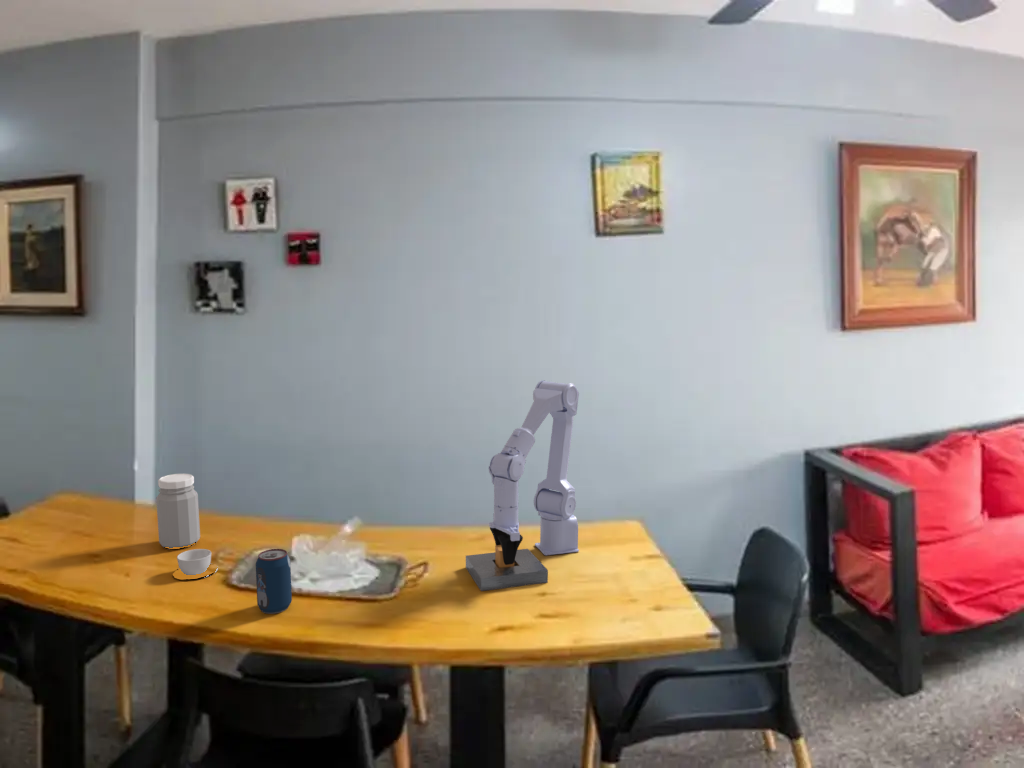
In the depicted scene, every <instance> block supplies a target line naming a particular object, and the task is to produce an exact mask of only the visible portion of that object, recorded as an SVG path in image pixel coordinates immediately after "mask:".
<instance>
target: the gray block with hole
mask: <svg viewBox="0 0 1024 768" xmlns="http://www.w3.org/2000/svg"><path fill="white" fill-rule="evenodd" d="M465 569H466V570H467V572H468V573H469V575H470V576H471V578H472V580H473V581H474V583H475V584H476V586H477V587H478V589H479V590H480V592H484V591H493V590H499V589H501V590H502V589H507V588H509V589H510V588H516V587H524V586H531V585H538V584H545V583H546V584H547V583H549V581H548V580H549V577H548V576H549V574H548V573H549V570H548V568H547V567H546V566H545V565H544V564H543V563H542V562H541V561H540V560H539V559H538V558H537V556H535V554H533V552H531V550H530V549H529V548H521V549H517V553H516V557H515V560H514V566H513V567H504V568H498V567H497V566H496V564H495V552H486V553H477V554H476V553H475V554H469V555H465Z"/></svg>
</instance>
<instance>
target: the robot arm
mask: <svg viewBox="0 0 1024 768" xmlns="http://www.w3.org/2000/svg"><path fill="white" fill-rule="evenodd" d="M579 396H580V393H579V390H578V387H576V385H575V383H573V382H568V383H566V382H558V381H557V382H556V381H550V380H549V381H548V380H543V379H541V380H539V381H538V382H537V384H536V385H535V387H534V390H533V391H532V399H533V402H532V404H531V406H530V409H529V411H528V412H527V415H526V416H525V418H524V421H523V423H522V426H521V427H517V428H514V430H513V431H512V432H511V435H510V436H509V438H508V439H507V441H506V443H505V445H504V446H503V448H502V450H501V451H500V452H498V453H497V454H495V455H493V456H492V457H491V459H490V462H489V465H488V473H489V475H490V477H491V483H492V485H493V514H492V515H493V516H492V517H493V518H492V519H493V520H492V522H489V523H488V527H489V530H490V531H491V533H492V536H493V541H494V542H495V546H496V545H501V547H502V552H503V560H504V564H505V565H509V564H514V560H515V557H516V553H517V550H519V547H520V544H521V543H522V542H523V539H524V537H523V535H522V534H521V532H520V531H519V529H520V523H519V486H520V485H519V479H520V478H522V476H523V474H524V471H525V466H526V461H527V460H526V458H527V457H528V455H529V453H530V451H531V449H532V448H533V446H534V444H535V442H536V439H535V433H536V432H537V431H538V429H539V428H540V427H541V426H542V423H544V421H545V419H546V418H547V417H548V415H549V414H550V416H551V417H552V424H551V425H552V426H551V435H550V446H549V454H548V463H547V469H546V470H547V471H546V477H545V479H543V480H541V481H540V482H538V484H537V489H536V492H535V494H534V497H533V506H534V509H535V510H536V512H537V515H538V516H539V517H540V524H539V525H540V531H539V532H540V534H539V535H540V536H539V538H540V539H539V542H535V543H534V546H535V547H536V548H537V549H538V550H539V551H540V552H541V553H542V554H543V555H544V556H553V555H562V554H569V553H578V552H580V549H579V523H578V518H577V517H576V516H575V515H574V512H575V511H576V507H577V505H576V504H577V501H576V488H575V487H574V486H573V485H572V484H571V483H570V482H569V481H568V470H569V461H570V452H571V443H572V437H573V435H572V434H573V427H574V420H575V416H577V414H578V413H577V412H578V406H579Z"/></svg>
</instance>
